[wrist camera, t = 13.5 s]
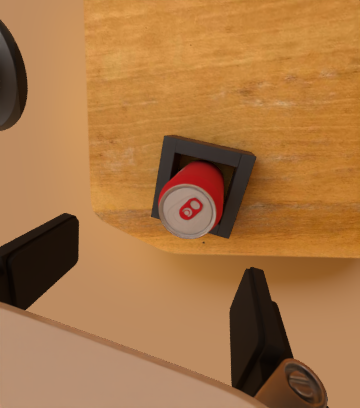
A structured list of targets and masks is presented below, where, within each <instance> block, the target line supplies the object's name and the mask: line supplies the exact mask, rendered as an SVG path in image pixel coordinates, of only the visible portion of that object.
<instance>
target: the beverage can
mask: <svg viewBox="0 0 360 408" xmlns="http://www.w3.org/2000/svg"><path fill="white" fill-rule="evenodd" d="M223 196H224V177H223V174H222V172H221V170H220V169H219V168H218V166H216V165H215V164H214V163H212V162H210V161H207V160H196V161H193V162H191V163H189V164H188V165H186V166H185V167H184V168H183V169H182V170H181V171H180V172H179V173H177V174H176V175H175V176H174V177H173V178H172V179H171V180H170V181H169V182H167V183H166V184H165V186H164V187H163V189H162V190H161V193H160V196H159V200H158V208H159V217H160V220H161V222H162V224H163V225H164V227H165V228H166V229H167V230H168V231H169V232H170V233H172V234H173V235H175V236H177V237H180V238H184V239H195V238H199V237H201V236H203V235H205V234H206V233H208V232H209V231H211V230H212V229H213V228H214V227H215V226H216V225H217V224H218V222H219V220H220V218H221V216H222V212H223Z"/></svg>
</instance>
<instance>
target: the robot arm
mask: <svg viewBox="0 0 360 408" xmlns="http://www.w3.org/2000/svg"><path fill="white" fill-rule="evenodd" d="M78 244H79V221H78V219H77V218H76V216H74V215H71V214H67V213H64V214H62V215H60V216H58V217H56V218H54V219H52V220H50V221H48V222H46V223H44V224H43V225H41V226H39V227H37V228H35V229H33V230H31V231H29V232H27V233H26V234H24V235H22V236H20V237H18V238H16V239H14V240H13V241H11V242H8V243H7V244H5V245H3V246H1V247H0V408H329V407H328V406H327V401H328V398H327V393H326V390H325V388H324V386H323V384H322V382H321V381H320V379H319V378H318V376H317V375H316V374H315V373H314V372H313V371H312V370H311V369H310V368H309V367H308V366H306V365H305V364H304V363H302V362H300V361H298V360H296V359H294V358H293V354H292V352H291V348H290V345H289V341H288V338H287V335H286V332H285V328H284V325H283V322H282V318H281V315H280V312H279V308H278V305H277V304H276V303H275V302H273V301H272V300H271V296H270V293H269V289H268V285H267V282H266V278H265V275H264V271H263V270H261V269H257V268H254V267H251V268H250V269H246V270H245V272H244V275H243V277H242V280H241V282H240V285H239V287H238V290H237V292H236V295H235V297H234V300H233V302H232V305H231V308H230V347H231V381H232V387H231V386H229V385H226V384H224V383H222V382H220V381H217V380H215V379H212V378H210V377H207V376H204V375H202V374H199V373H197V372H194V371H191V370H189V369H186V368H184V367H181V366H178V365H176V364H173V363H170V362H167V361H164V360H162V359H159V358H156V357H154V356H151V355H148V354H146V353H143V352H140V351H137V350H134V349H132V348H129V347H126V346H123V345H120V344H118V343H115V342H112V341H110V340H107V339H104V338H101V337H99V336H96V335H93V334H90V333H87V332H85V331H81V330H79V329H76V328H73V327H70V326H68V325H65V324H62V323H59V322H56V321H54V320H51V319H48V318H45V317H42V316H39V315H36V314H33V313H31V312H28V311H25V310H26V309H27V308H28V307H30V306H31V305H32V304H33V303H34V302H35V301H36V300H37V299H38V298H39V297H41V296H42V295H43V294H44V293H45V292H46V291H47V290H48V289H49V288H50V287H51V286H53V285H54V284H55V283H56V282H57V281H58V280H59V279H60V278H61V277H62V276H63V275H64V274H66V273H67V272H68V271H69V270H70V269H71V268H72V267H73V266H74V265H75V264H76V263H77V261H78Z"/></svg>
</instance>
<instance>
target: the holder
mask: <svg viewBox="0 0 360 408" xmlns="http://www.w3.org/2000/svg"><path fill="white" fill-rule="evenodd" d="M181 154H183V155H187V156H192V157H196V158H200V159H204V160H208V161H213V162H217V163H221V164H225V165H229V166H234V171H233V174H232V177H231V181H230V184H229V187H228V190H227V194H226V197H225V200H224V204H223V212H222V216H221V218H220V220H219V222H218V224H217V225H216V226H215V227H214V228H213V229H212V230H211V231H209V232H208V233H210V234H213V235H217V236H221V237H224V238H228V239H229V237H230V234H231V231H232V228H233V225H234V222H235V219H236V216H237V213H238V210H239V207H240V204H241V201H242V198H243V195H244V193H245V190H246V187H247V184H248V181H249V178H250V175H251V172H252V169H253V166H254V163H255V160H256V156H255V155H254V154H253V153H252V152H247V151H243V150H238V149H234V148H230V147H225V146H221V145H216V144H212V143H208V142H203V141H199V140H194V139H190V138H185V137H181V136H177V135H167V136H164V140H163V146H162V153H161V159H160V165H159V171H158V177H157V183H156V190H155V196H154V202H153V208H152V214H151V217H154V218H157V219H160V217H159V208H158V200H159V196H160V193H161V190H162V189H163V187H164V186H165V184H166V183H167V182H169V181H170V180H171V179H172V178H173V177H174V176H175V175H176V174H177V173H178V169H179V164H180V159H181Z"/></svg>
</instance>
